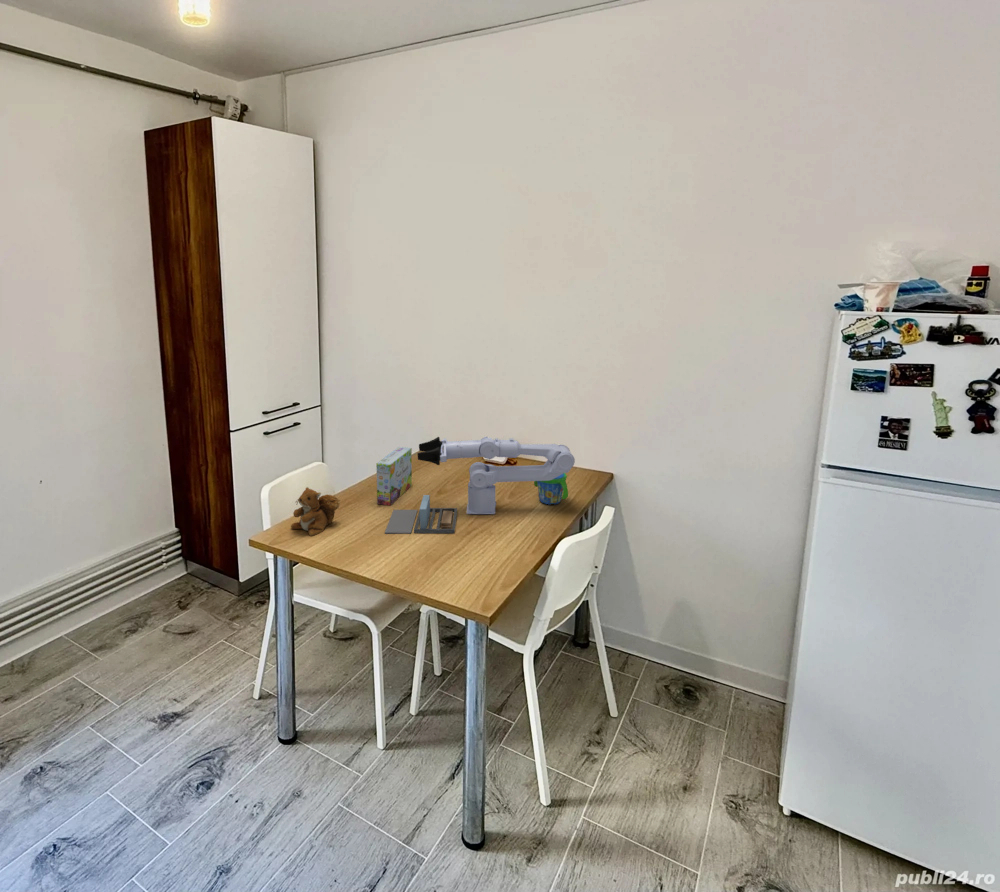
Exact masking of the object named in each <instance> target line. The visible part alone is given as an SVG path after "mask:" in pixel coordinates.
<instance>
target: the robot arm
mask: <svg viewBox="0 0 1000 892" xmlns="http://www.w3.org/2000/svg"><path fill="white" fill-rule="evenodd" d="M418 451H419V452H417V460H419V461H422V462H428V463H433V464H435V465H437V466H441V463H446V462H447V461H448V460H450V459H451V460H452V459H453V460H454V459H468V458H471V459H472V458H482V457H483V458H484V459H486V460H487V459H488V460H492V459H494V458H495V457H497V458H510V459H511V458H515V459H516V458H517V457H519V456H520V455H523V456H525V455H526V456H535V457H544V458H545V459H547V460H546V461H545V463H544V464H541V465H540V464H539V465H537V464H536V465H508V466H507V465H504V466H502V465H501V466H496V465H494V464H491V463H490V464H486V463H483V462H481V461H477V462H473V463H472V464H471V465H470V466H469V469H468V472H469V482H468V483H467V504H466V505H467V506H466V515H495V514H496V507H497V500H496V485H495V484H497V483H507V482H508V483H509V482H510V483H512V482H514V483H515V482H534V481H549V480H552V479H554V478H556V477H558V476H560V475H561V474H563V473H565V474H567V473H569V472H570V471H571V470H572V468H573V467H574V465H575V461H576V459H575V457H574V455H573V454H572V452H571V450H570V448H569V447H568V446H567V445H564V444H558V443H557V444H556V443H547V444H546V443H544V444H543V443H539V444H538V443H531V444H529V443H524V444H522V443H520V442H519V441H518V440H516V439H515V440H514V438H513V437H512V438H509V439H499V438H497V437H496V438H494V439H493V438H492V437H488V436H484V437H482V438H481V439H471V440H470V439H468V440H452V441H451V440H450V441H448V440H447V438H446V437H445V438H443V439H440V437H439V436H437V437H435V438H433V439H431V440H428V441H426V442H422V443H419V444H418Z"/></svg>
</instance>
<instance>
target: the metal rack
mask: <svg viewBox="0 0 1000 892" xmlns="http://www.w3.org/2000/svg"><path fill="white" fill-rule="evenodd" d="M443 511H453V517H452V524H451V529H441V521H442V516H443ZM430 513H431V515H430V519H429V523H428V528H427V529H420V528H419V527H420V509H418V512H417V518H416V519H415V520H416V521H415V523H414V526H413V534H434V535H435V534H437V535H438V534H450V535H452V534H454V535H455V530H456V526H457V525H456V524H457V523H456V522H457V515H458V508H457V507H430ZM436 513H438V518H437V522H436V523H437V524H436V528H433V526H434V521H435V517H436Z"/></svg>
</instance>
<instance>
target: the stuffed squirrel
mask: <svg viewBox="0 0 1000 892" xmlns="http://www.w3.org/2000/svg"><path fill="white" fill-rule="evenodd" d="M321 495H322V492H317V491H316V490H314V489H311V488H309V487H305V490H304V491H302V493H301V495H300V496H299V498H298V499H297V500H296V501H295V504H296V506H298V503H299V505H300V507H299V508H297V509H294V511H293V517H295V518H299V517H300V520H299V522H293V523H292V524H291V525H290V528H291V529H292V530H301V529H302V530H304V531H308V535H309V536H310V537H313V535H314V536H316V535H318V533H319V534H321V533H323V531H324V530H325V529H326V526H328V525H330V524H331V523H332V522H333V520H334V518H335V513H336V510H338V509H339V508H340V504H341V503H340V502H341V499H339V498H337V497H336V496H335V495H332V494H325V495H322V496H321ZM327 524H328V525H327ZM320 532H321V533H320Z"/></svg>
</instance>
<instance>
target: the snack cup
mask: <svg viewBox="0 0 1000 892" xmlns="http://www.w3.org/2000/svg"><path fill="white" fill-rule="evenodd" d="M567 478H568V475H567V473H563V474H561V475H560V476H558V477H556V478H554V479H552V480H549V481H533V485H534V487H536V488H537V490H538V499H539V502H540V501H541V503H543V504H546V505H547V504H548V505H551V504H554V505H558V504H560V502H561V501H562V500H566V499H567V498H568V497H569V488H568V484H567V482H566V481H567Z"/></svg>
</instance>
